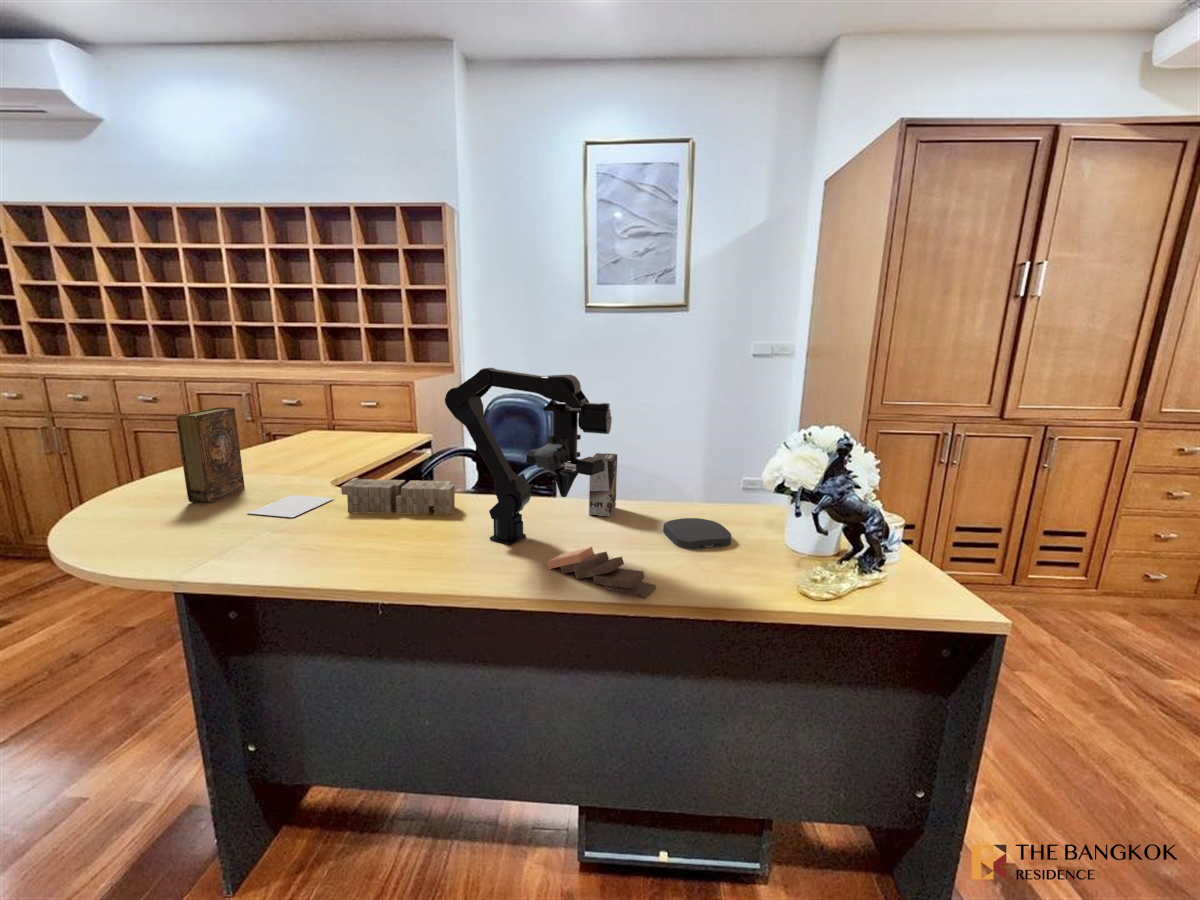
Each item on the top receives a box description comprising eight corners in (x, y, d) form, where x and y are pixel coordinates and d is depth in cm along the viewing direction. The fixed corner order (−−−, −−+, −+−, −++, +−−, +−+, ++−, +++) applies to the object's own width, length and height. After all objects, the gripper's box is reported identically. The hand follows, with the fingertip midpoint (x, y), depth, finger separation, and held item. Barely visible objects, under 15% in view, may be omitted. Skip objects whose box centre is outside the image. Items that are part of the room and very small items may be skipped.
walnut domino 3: (593, 575, 105) (627, 580, 99) (609, 567, 108) (643, 571, 102) (594, 583, 105) (628, 588, 99) (610, 574, 109) (644, 578, 102)
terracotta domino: (546, 561, 111) (577, 554, 106) (561, 554, 116) (591, 546, 110) (549, 568, 111) (580, 561, 106) (563, 561, 115) (594, 554, 110)
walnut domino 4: (604, 583, 104) (645, 595, 100) (615, 573, 108) (655, 585, 104) (603, 590, 104) (644, 603, 100) (615, 580, 109) (655, 592, 104)
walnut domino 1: (560, 566, 110) (592, 559, 104) (574, 558, 114) (606, 551, 108) (562, 573, 109) (595, 566, 104) (577, 565, 113) (608, 558, 108)
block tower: (457, 509, 150) (355, 503, 150) (457, 481, 149) (354, 475, 148) (449, 519, 143) (342, 513, 142) (449, 489, 141) (340, 483, 141)
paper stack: (364, 503, 151) (364, 500, 151) (302, 534, 127) (302, 531, 127) (292, 497, 155) (292, 494, 155) (219, 526, 131) (219, 523, 131)
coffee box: (610, 517, 144) (612, 460, 140) (588, 515, 145) (589, 459, 141) (616, 507, 152) (618, 453, 149) (594, 505, 153) (596, 452, 150)
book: (230, 487, 162) (219, 406, 157) (247, 487, 162) (237, 407, 157) (188, 503, 146) (175, 415, 141) (208, 504, 146) (195, 415, 141)
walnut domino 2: (574, 571, 107) (607, 564, 102) (589, 563, 111) (621, 556, 106) (577, 579, 107) (610, 572, 102) (591, 571, 111) (624, 564, 106)
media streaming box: (658, 529, 137) (659, 518, 136) (709, 526, 140) (710, 515, 140) (680, 552, 123) (681, 540, 122) (736, 547, 127) (737, 535, 126)
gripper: (509, 430, 117) (510, 497, 120) (578, 442, 107) (576, 514, 110) (541, 424, 126) (540, 486, 129) (606, 434, 116) (604, 501, 120)
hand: (563, 496), depth 122 cm, fingers closed
